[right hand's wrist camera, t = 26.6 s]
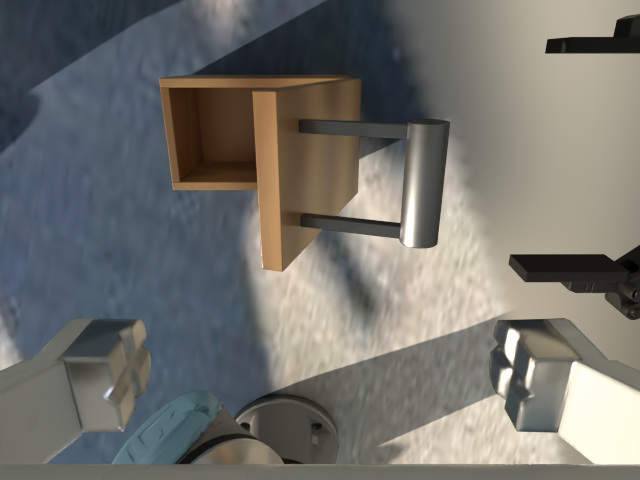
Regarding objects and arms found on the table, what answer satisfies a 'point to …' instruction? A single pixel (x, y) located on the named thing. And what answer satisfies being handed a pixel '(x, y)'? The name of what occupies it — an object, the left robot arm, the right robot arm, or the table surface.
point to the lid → (336, 168)
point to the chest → (217, 127)
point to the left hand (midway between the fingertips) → (534, 167)
